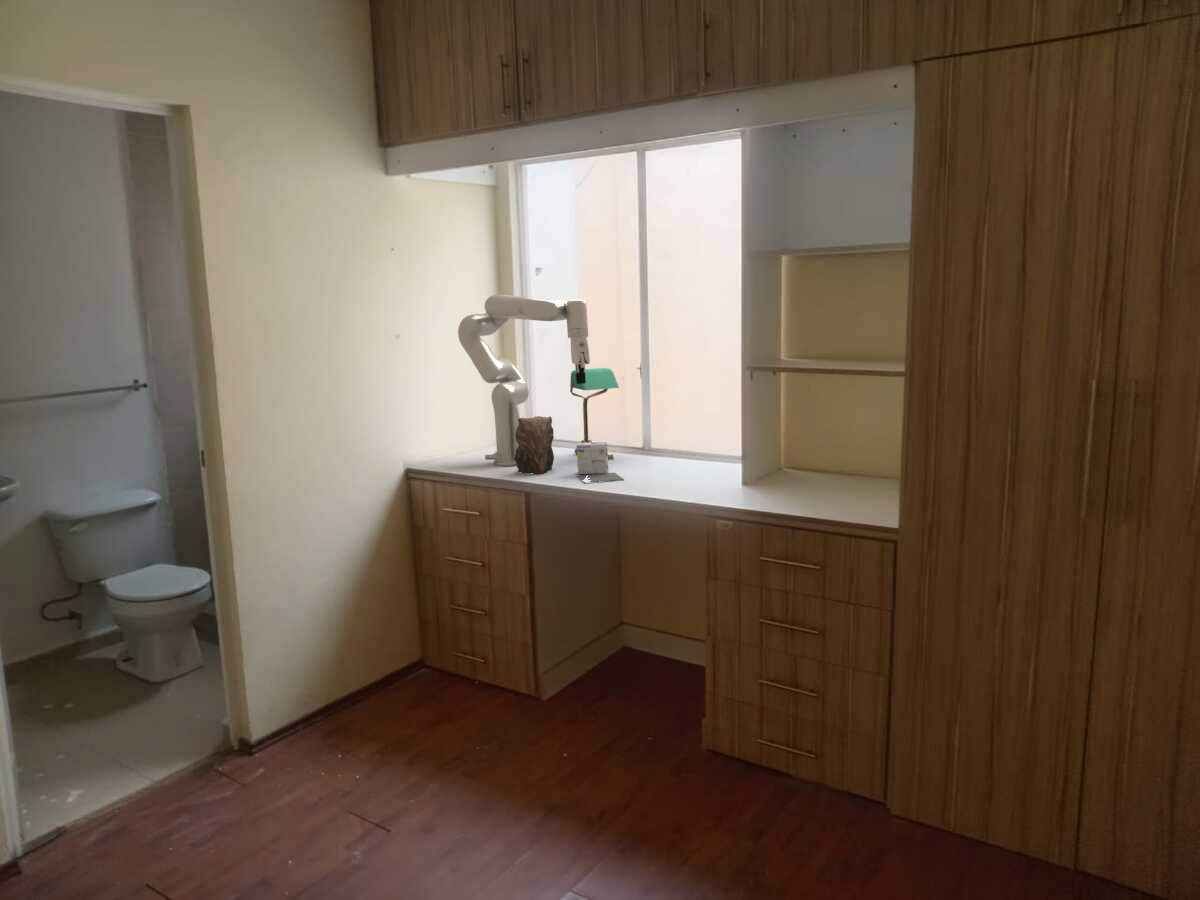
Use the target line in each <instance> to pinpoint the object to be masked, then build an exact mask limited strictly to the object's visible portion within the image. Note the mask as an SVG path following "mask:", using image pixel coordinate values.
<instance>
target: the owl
mask: <svg viewBox="0 0 1200 900" xmlns="http://www.w3.org/2000/svg"><path fill="white" fill-rule="evenodd" d="M518 422H519V425H518V427H517V429H516V435H515V437H516V441H517V442H518V444H519V446H518V448H517V449H516V454H515V457H514V460H515V461H516V464H517V465H516V467H517V470H518V473H519V472H521V473H520V474H526V473H533V474H532V475H538V474H544V473H545V474H546V472H547V471H549V470H550V471H552V470H551V469H553V465H554V459H555V455H554V451H553V447H552V444H553V439H554V437H555V436H554V435H555V434H554V428H553V426H552V423H553V419H552V416H533V417H527V418H525V417H520V418H518ZM550 471H549V472H550ZM547 473H548V472H547ZM545 474H544V475H545Z"/></svg>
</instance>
